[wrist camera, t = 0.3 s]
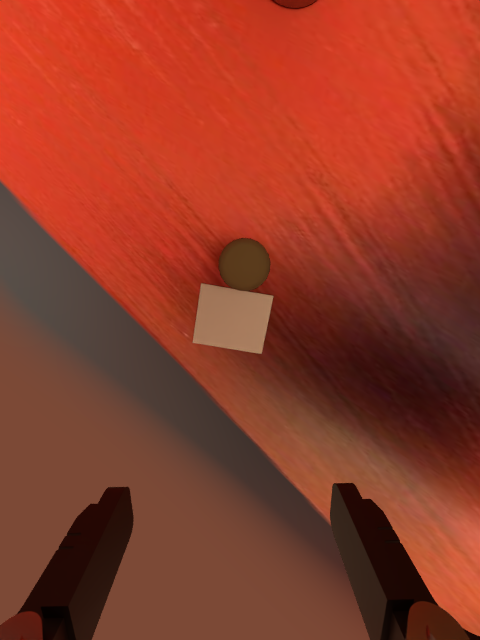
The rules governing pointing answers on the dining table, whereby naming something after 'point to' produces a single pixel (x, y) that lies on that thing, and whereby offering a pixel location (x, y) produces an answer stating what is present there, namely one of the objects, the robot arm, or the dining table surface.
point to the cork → (244, 264)
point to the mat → (232, 318)
